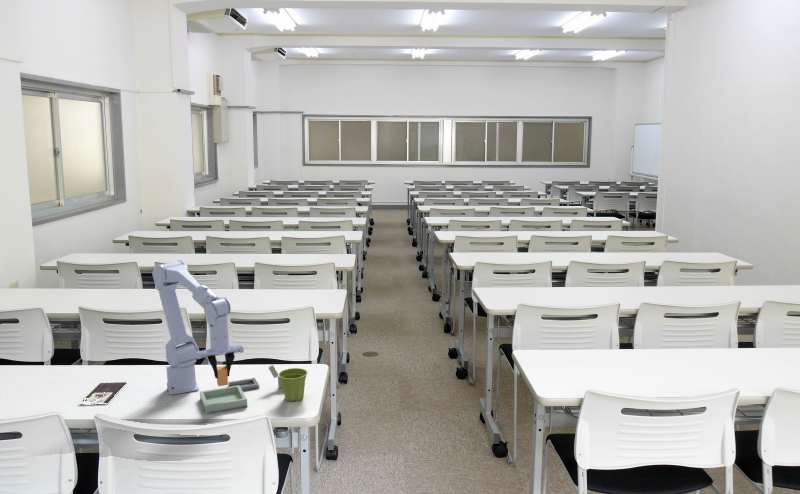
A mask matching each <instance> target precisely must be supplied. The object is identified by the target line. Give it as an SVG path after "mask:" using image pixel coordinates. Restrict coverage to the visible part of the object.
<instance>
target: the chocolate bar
mask: <svg viewBox="0 0 800 494" xmlns="http://www.w3.org/2000/svg"><path fill="white" fill-rule="evenodd" d="M125 384H127V381H124V382H122V381H121V382H119V381H117V382H100V383H98V385H97V386H96V387H94V389H93V390H91V392H90V393H88V394H87V395H86V396H85V398H89V399H88V400H87V399H86V400H85V401H90V402H93V401H96V399H101V400H100V401H99V400H98V401H97V402H96V403H108V402H109V401H110V400H111V399H112V398H113V397H114V395H115V394H116V393H117V392H118V391H119V390H120V389H121V388H122V387H123V386H124V385H125ZM125 386H126V385H125ZM125 386H124V387H125ZM124 387H123V388H124ZM123 388H122V389H123ZM122 389H121V390H122ZM121 390H120V391H121ZM120 391H119V392H120ZM104 392H105V393H104ZM119 392H118V393H119ZM98 393H99V394H98ZM118 393H117V394H118ZM92 394H93V395H92ZM117 394H116V395H117ZM103 395H104V396H103ZM97 396H98V397H97ZM90 398H91V399H90ZM103 398H104V399H103ZM114 398H115V397H114ZM114 398H113V399H114ZM102 399H103V400H102ZM113 399H112V400H113ZM112 400H111V401H112ZM82 401H84V399H82ZM111 401H110V402H111ZM110 402H109V403H110ZM109 403H108V404H109ZM91 404H92V403H91ZM93 404H95V402H94V403H93Z"/></svg>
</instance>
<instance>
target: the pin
mask: <svg viewBox="0 0 800 494" xmlns="http://www.w3.org/2000/svg"><path fill="white" fill-rule="evenodd" d="M217 373H218V378H216V383H217V386H218V387H224V386H229V385H228V382H229V379H228V378H229V376H228V375H227V368H226V365H221V366H217Z"/></svg>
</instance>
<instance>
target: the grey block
mask: <svg viewBox="0 0 800 494" xmlns="http://www.w3.org/2000/svg"><path fill="white" fill-rule="evenodd" d="M268 370H269V371H270V373H271V375H272V376H273V378H274V379H275V378H277V388H278V389H283V386H282V381H281V380H280V377H279V372H277V370H276V368H275V366H274V364H272V365H269V366H268Z"/></svg>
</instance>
